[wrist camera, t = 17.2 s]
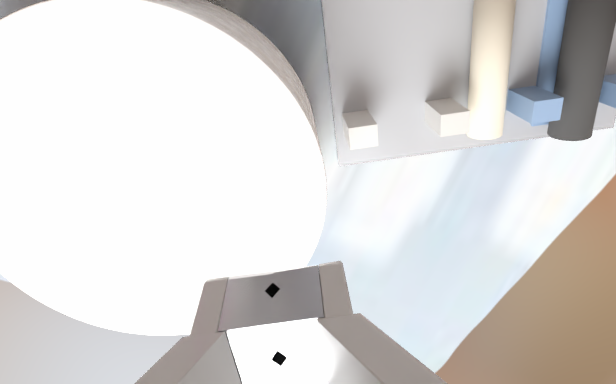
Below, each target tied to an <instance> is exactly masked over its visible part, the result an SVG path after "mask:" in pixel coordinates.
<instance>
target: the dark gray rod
mask: <svg viewBox="0 0 616 384" xmlns="http://www.w3.org/2000/svg"><path fill="white" fill-rule="evenodd" d="M615 24H616V0H568V4H567V10H566V16H565V23H564V29H563V35H562V42H561V48H560V54H559V61H558V67H557V73H556V80H555V86H554V92H553V93H554V94H556V95H559V96H561V97H564V99H563V105H562V111H561V117H560V120H557V121H550V122H549V124H548V130H547V134H548V135H549V136H550V137H552V138H555V139H559V140H566V141H580V140H585V139H588V138H590V137H591V136H592V131H593V127H594V122H595V117H596V113H597V108H598V103H599V99H600V94H601V89H602V85H603V80H604V75H605V71H606V66H607V61H608V57H609V52H610V47H611V43H612V38H613V33H614V28H615Z"/></svg>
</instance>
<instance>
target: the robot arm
mask: <svg viewBox="0 0 616 384" xmlns="http://www.w3.org/2000/svg"><path fill="white" fill-rule="evenodd" d="M319 272H320V273H319ZM135 384H447V383H446V382H445V381H443V380H442V379H441V378H440V377H439V376H437V375H436V374H435V373H434V372H432V371H431V370H430V369H429V368H427V367H426V366H425V365H424V364H422V363H421V362H420V361H419V360H418V359H416V358H415V357H414V356H413V355H411V354H410V353H409V352H408V351H406V350H405V349H404V348H403V347H401V346H400V345H399V344H398V343H396V342H395V341H394V340H393V339H392V338H390V337H389V336H388V335H387V334H385V333H384V332H383V331H382V330H380V329H379V328H378V327H377V326H375V325H374V324H373V323H372V322H370V321H369V320H368V319H367V318H366V317H364V316H363V315H362V314H361V313H358V314H353V311H352V306H351V301H350V297H349V292H348V287H347V282H346V277H345V273H344V268H343V263H342V262H341V261H336V262H330V263H324V264H319V267H318V265H316V266H309V267H302V268H295V269H288V270H281V271H271V272H262V273H254V274H245V275H236V276H230V277H221V278H213V279H207V281H206V282H205V283H204V285H203V289H202V292H201V296H200V299H199V303H198V307H197V310H196V314H195V318H194V321H193V325H192V328H191V332H190V336H188V337H182V338H181V339H180V340H179V341H178V342H177V343H176V344H175V345H174V346H173V347H172V348H171V349H170V350H169V351H168V352H167V353H166V354H165V355H164V356H163V357H161V359H159V360H158V361H157V362H156V363H155V364H154V365H153V366H152V367H151V368H150V369H149V370H148V371H147V372H146V373H145V374H144V375H143V376H142V377H141V378H140V379H139V380H138V381H137V382H136V383H135Z"/></svg>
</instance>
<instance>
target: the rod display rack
mask: <svg viewBox="0 0 616 384" xmlns="http://www.w3.org/2000/svg"><path fill="white" fill-rule="evenodd" d="M321 4H322V13H323V23H324V32H325V42H326V51H327V61H328V70H329V80H330V89H331V99H332V108H333V118H334V127H335V137H336V146H337V156H338V164H339V166H346V165H353V164H360V163H367V162H374V161H381V160H388V159H395V158H402V157H410V156H417V155H424V154H431V153H438V152H445V151H452V150H459V149H466V148H473V147H480V146H487V145H494V144H501V143H508V142H515V141H522V140H529V139H536V138H543V137H550V136H549V135H548V134H547V130H548V124H549V122H550V121H557V120H560V117H561V111H562V105H563V99H564V97H561V96H559V95H556V94H554V93H553V92H554V86H555V80H556V73H557V67H558V61H559V54H560V48H561V42H562V35H563V29H564V23H565V16H566V10H567V4H568V0H516V8H515V17H514V27H513V37H512V47H511V56H510V66H509V76H508V86H507V95H506V105H505V115H504V125H503V134H502V136H501V137H499V138H496V139H491V140H478V139H473V138H470V137H468V136H467V135H466V133H469V123H470V110H468V92H469V75H470V57H471V40H472V22H473V5H474V0H321ZM615 118H616V24H615V28H614V33H613V38H612V43H611V47H610V52H609V57H608V61H607V66H606V71H605V75H604V80H603V85H602V89H601V94H600V99H599V103H598V108H597V113H596V117H595V122H594V127H593V130H599V129H606V128H613V127H614V123H615Z"/></svg>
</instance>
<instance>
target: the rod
mask: <svg viewBox="0 0 616 384" xmlns="http://www.w3.org/2000/svg"><path fill="white" fill-rule="evenodd" d="M515 8H516V0H474V5H473V22H472V40H471V57H470V75H469V92H468V110H470V123H469V133H466V135H467V136H468V137H470V138H473V139H478V140H491V139H496V138H499V137H501V136H502V134H503V125H504V115H505V105H506V95H507V86H508V76H509V66H510V56H511V47H512V37H513V27H514V17H515Z"/></svg>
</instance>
